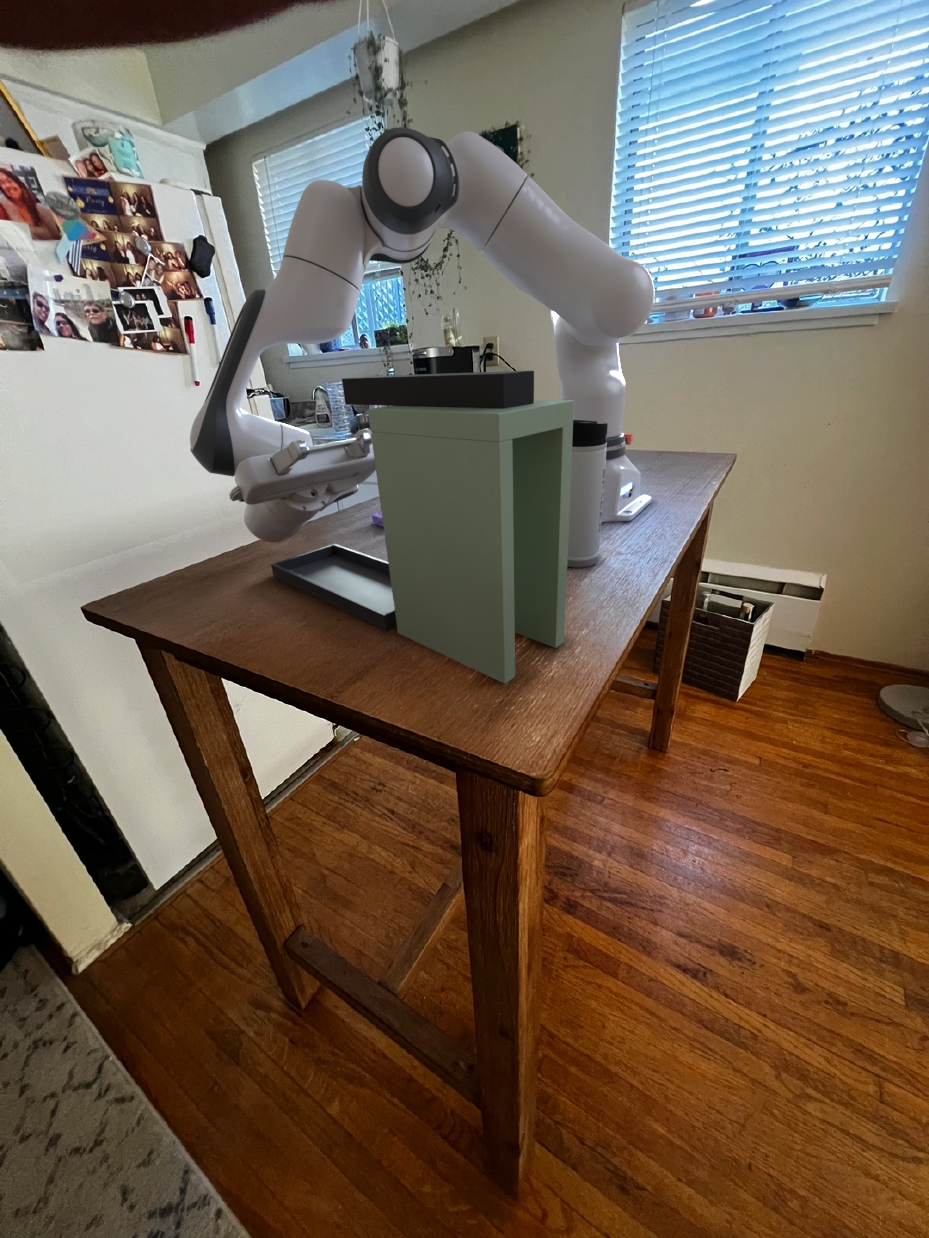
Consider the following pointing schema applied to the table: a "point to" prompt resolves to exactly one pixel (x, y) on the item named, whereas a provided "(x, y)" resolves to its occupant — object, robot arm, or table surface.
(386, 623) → the shallow dark gray tray
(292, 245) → the robot arm
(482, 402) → the black pad
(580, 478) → the travel mug
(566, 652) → the table surface
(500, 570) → the stool
